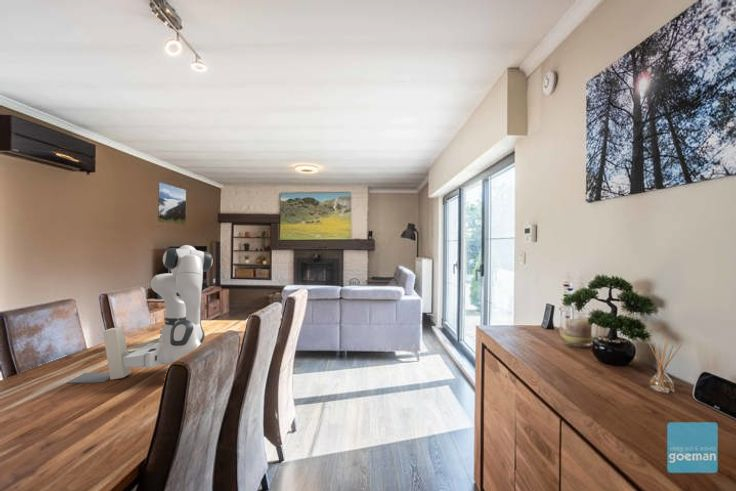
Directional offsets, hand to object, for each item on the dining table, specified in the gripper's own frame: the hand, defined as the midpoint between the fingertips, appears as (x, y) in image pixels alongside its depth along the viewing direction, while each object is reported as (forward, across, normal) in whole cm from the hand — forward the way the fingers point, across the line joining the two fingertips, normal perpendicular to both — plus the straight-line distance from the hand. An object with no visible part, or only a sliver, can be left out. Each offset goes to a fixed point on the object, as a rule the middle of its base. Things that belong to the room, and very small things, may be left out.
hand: (124, 354), depth 139 cm
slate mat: (+11, 0, +10) cm, 15 cm away
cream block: (+1, 0, +9) cm, 9 cm away
